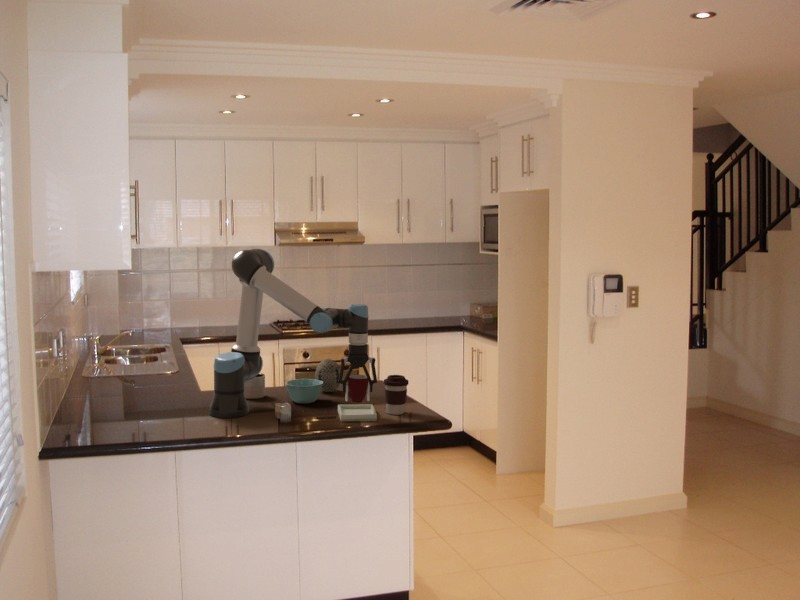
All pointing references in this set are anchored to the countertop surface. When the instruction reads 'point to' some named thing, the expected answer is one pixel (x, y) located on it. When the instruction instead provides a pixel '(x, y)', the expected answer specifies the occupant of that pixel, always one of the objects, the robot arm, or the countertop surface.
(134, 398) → the countertop surface
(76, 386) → the countertop surface
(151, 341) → the countertop surface
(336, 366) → the decorative egg
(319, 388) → the bowl
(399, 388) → the coffee cup
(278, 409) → the white marbled cube
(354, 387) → the mug
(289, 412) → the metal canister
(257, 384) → the planter
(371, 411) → the tray
